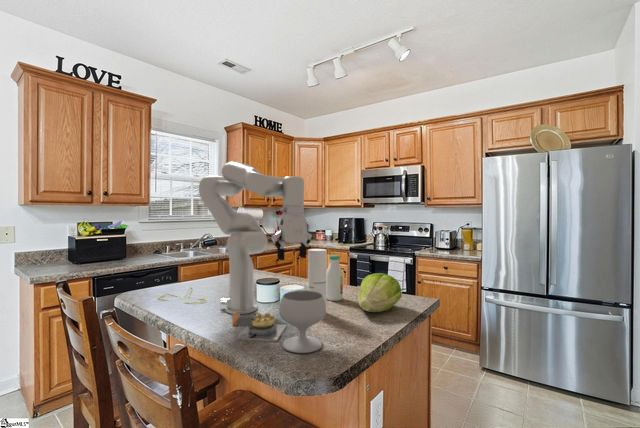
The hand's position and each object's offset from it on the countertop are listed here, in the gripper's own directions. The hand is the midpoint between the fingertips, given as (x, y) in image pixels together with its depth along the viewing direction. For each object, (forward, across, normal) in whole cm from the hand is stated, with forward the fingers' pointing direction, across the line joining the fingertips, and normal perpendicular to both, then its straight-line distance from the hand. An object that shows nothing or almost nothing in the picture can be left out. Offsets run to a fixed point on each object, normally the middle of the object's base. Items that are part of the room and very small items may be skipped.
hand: (292, 258), depth 116 cm
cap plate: (+23, -13, -2) cm, 27 cm away
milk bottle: (+23, +34, +13) cm, 43 cm away
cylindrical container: (+23, +14, +2) cm, 27 cm away
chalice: (+23, -9, -19) cm, 31 cm away
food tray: (+20, -15, 0) cm, 26 cm away
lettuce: (+23, +35, -11) cm, 43 cm away
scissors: (+25, -19, +57) cm, 65 cm away
